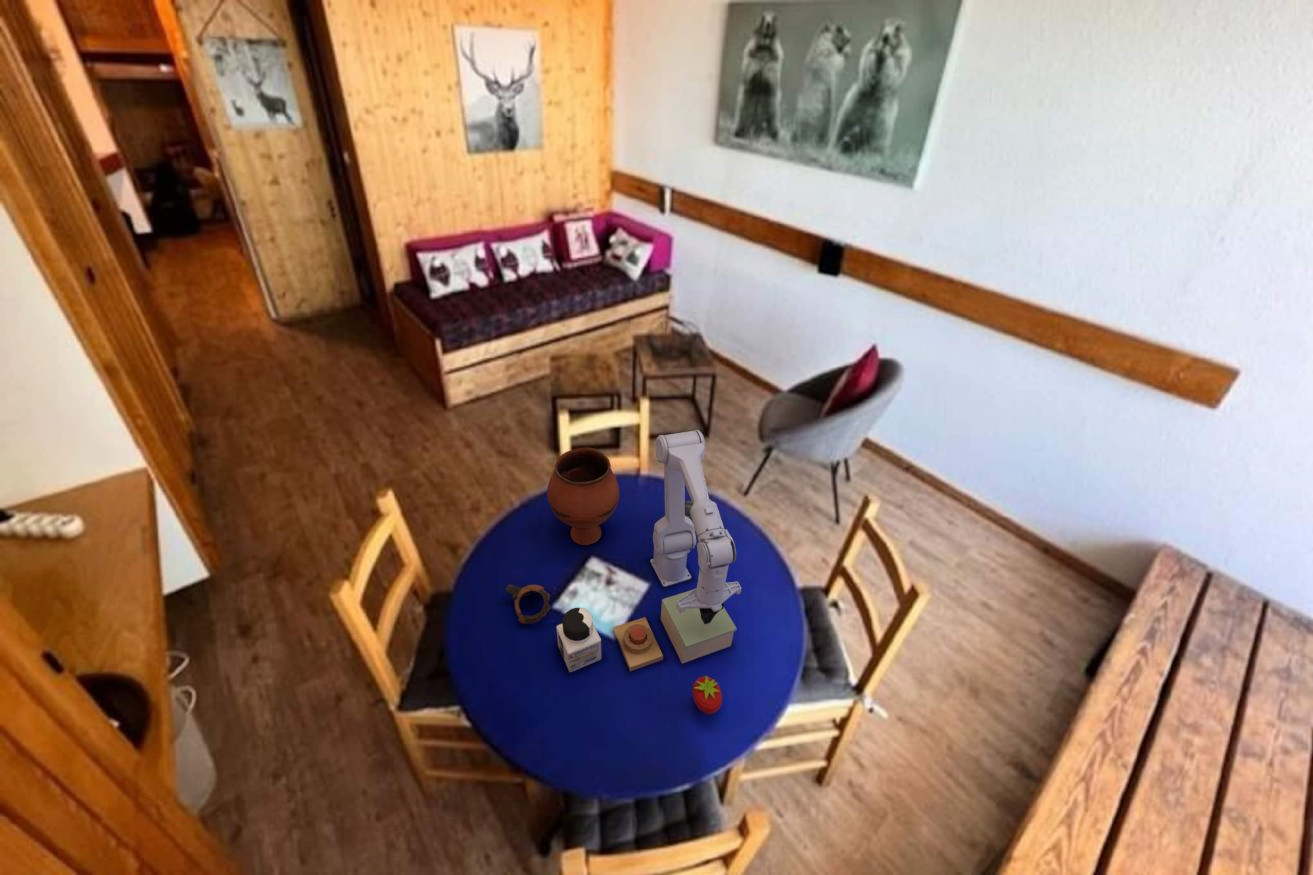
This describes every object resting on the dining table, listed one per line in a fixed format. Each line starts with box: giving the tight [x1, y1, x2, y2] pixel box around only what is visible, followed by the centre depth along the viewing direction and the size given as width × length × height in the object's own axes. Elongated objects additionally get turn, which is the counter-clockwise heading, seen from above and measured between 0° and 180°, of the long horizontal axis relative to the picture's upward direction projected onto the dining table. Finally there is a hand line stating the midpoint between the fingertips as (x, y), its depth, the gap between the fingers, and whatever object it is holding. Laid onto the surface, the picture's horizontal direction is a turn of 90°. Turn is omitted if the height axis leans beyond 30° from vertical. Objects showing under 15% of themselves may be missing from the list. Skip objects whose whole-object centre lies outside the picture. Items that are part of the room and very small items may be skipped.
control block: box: [613, 616, 664, 672], centre depth 132 cm, size 11×8×4 cm
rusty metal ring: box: [505, 583, 552, 625], centre depth 138 cm, size 12×10×8 cm
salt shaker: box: [685, 499, 697, 535], centre depth 159 cm, size 6×6×12 cm
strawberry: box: [692, 674, 723, 715], centre depth 119 cm, size 6×8×10 cm
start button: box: [630, 626, 646, 644], centre depth 131 cm, size 4×4×2 cm
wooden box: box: [660, 602, 735, 664], centre depth 135 cm, size 13×13×7 cm
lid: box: [661, 588, 738, 648], centre depth 132 cm, size 13×13×1 cm
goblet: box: [546, 447, 620, 546], centre depth 153 cm, size 19×19×25 cm
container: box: [555, 607, 602, 673], centre depth 127 cm, size 8×8×13 cm
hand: (705, 620), depth 128 cm, fingers closed
